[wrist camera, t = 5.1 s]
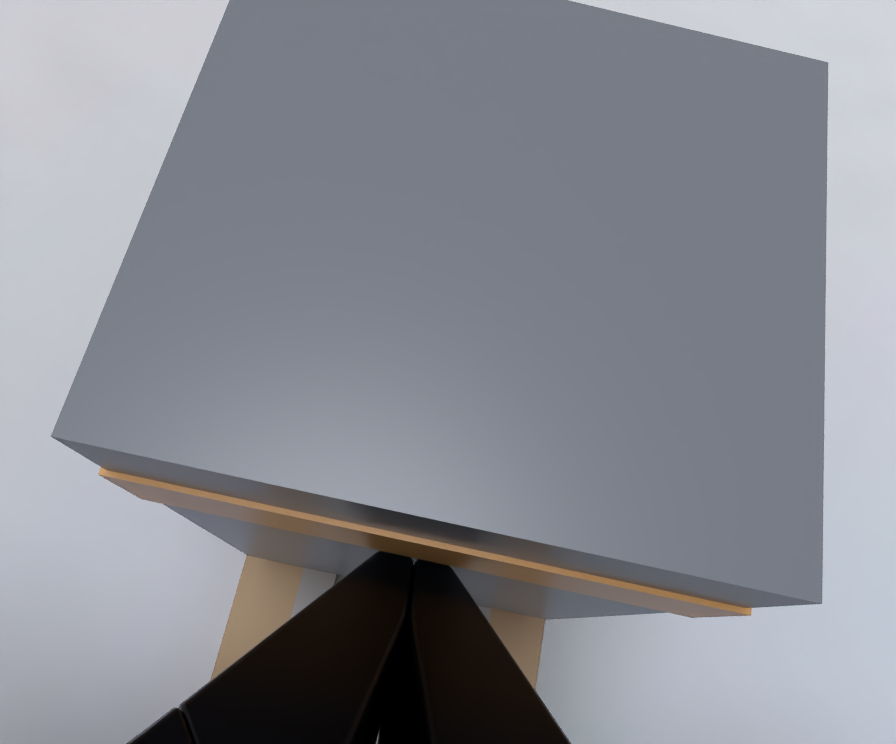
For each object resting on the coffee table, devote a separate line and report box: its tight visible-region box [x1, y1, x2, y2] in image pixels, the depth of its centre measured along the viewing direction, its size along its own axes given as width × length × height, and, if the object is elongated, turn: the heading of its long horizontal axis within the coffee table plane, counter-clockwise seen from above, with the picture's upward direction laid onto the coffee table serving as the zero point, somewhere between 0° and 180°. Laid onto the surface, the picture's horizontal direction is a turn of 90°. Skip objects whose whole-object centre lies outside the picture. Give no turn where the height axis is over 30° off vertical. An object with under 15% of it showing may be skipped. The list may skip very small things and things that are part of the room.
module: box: [51, 0, 828, 619], centre depth 10 cm, size 5×6×8 cm
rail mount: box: [210, 555, 545, 744], centre depth 13 cm, size 18×6×6 cm, turn 169°
